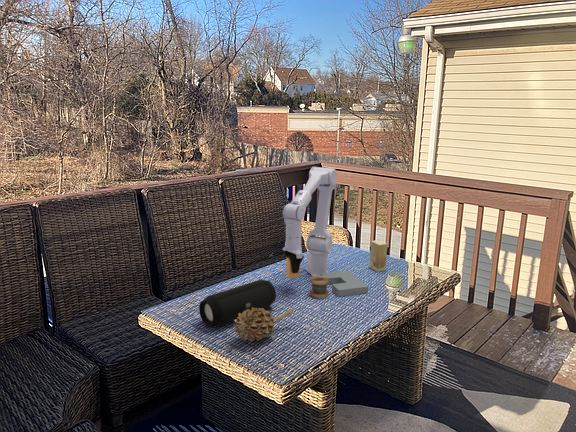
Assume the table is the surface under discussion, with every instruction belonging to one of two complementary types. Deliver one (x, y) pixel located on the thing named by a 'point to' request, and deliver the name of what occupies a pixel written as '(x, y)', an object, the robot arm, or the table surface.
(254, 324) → the brown knobbly handled piece
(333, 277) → the notched board
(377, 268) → the skincare box
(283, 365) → the table surface
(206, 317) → the portable speaker
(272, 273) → the table surface
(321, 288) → the bobbin post
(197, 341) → the table surface
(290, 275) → the orange rectangular block
